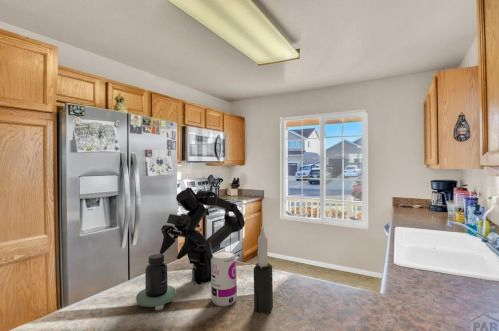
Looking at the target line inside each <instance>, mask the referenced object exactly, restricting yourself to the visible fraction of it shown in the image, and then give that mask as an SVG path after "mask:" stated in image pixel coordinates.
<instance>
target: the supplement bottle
mask: <svg viewBox="0 0 499 331" xmlns="http://www.w3.org/2000/svg"><path fill="white" fill-rule="evenodd" d="M147 263H148V264H147V265H146V267H145V269H144V270H145V272H144V273H145V276H144V278H145V279H144V280H145V284H144V286H145V287H144V289H145V293H146V296H148V297H152V298H154V297H160V296H162V295H164V294H166V292H167V289H168V286H169V285H168V264H167V263H166V262H165V255H164V253H163V254H160V253H155V254H154V253H153V254H151V255H149V256H148V262H147Z"/></svg>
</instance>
